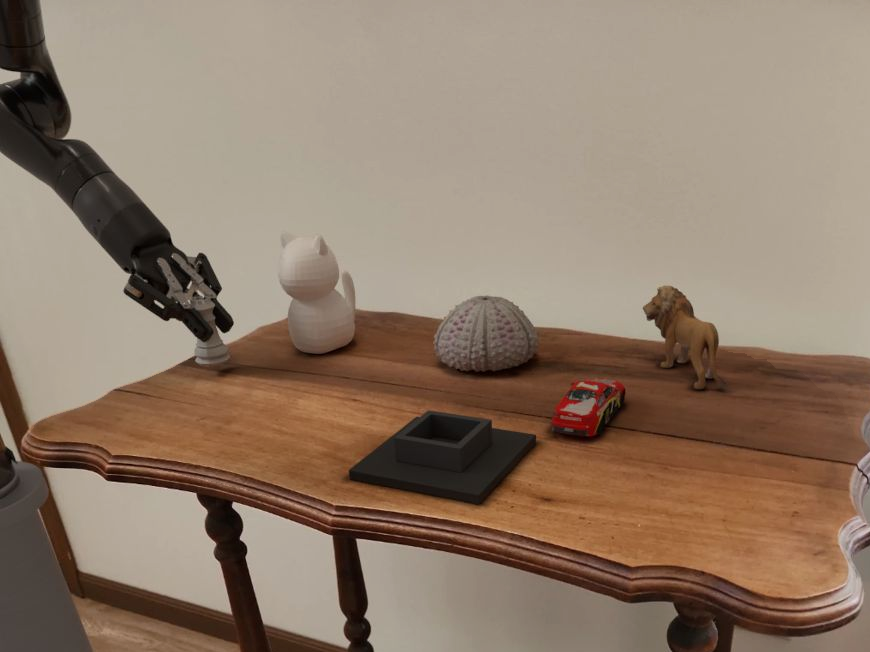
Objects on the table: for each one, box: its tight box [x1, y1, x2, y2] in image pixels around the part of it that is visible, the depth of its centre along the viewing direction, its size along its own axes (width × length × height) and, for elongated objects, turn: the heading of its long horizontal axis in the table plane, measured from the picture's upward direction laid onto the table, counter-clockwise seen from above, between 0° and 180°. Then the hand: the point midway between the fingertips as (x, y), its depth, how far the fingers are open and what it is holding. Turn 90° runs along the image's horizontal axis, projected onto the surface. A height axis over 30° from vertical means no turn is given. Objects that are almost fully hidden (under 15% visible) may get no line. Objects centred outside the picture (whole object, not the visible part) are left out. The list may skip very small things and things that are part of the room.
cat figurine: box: [278, 231, 356, 355], centre depth 109 cm, size 9×12×15 cm
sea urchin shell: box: [432, 295, 540, 373], centre depth 102 cm, size 13×14×8 cm
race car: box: [551, 377, 627, 438], centre depth 87 cm, size 13×5×4 cm, turn 153°
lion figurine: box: [642, 285, 728, 390], centre depth 95 cm, size 15×5×9 cm, turn 24°
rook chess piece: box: [189, 295, 231, 368], centre depth 103 cm, size 4×4×8 cm
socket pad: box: [348, 409, 537, 505], centre depth 80 cm, size 14×14×4 cm
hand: (219, 332), depth 102 cm, fingers closed on rook chess piece, 3 cm apart
